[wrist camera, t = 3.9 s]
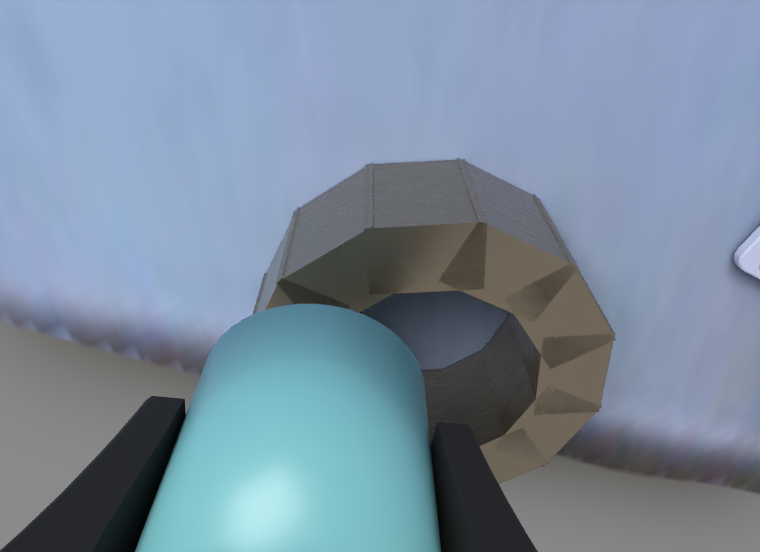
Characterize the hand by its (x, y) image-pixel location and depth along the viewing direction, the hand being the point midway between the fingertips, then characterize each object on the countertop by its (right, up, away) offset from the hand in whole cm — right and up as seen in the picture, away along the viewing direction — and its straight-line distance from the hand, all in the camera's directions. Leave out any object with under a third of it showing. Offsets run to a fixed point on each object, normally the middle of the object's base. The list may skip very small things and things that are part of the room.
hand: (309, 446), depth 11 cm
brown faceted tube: (+3, +2, +8) cm, 9 cm away
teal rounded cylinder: (0, +1, +1) cm, 1 cm away
